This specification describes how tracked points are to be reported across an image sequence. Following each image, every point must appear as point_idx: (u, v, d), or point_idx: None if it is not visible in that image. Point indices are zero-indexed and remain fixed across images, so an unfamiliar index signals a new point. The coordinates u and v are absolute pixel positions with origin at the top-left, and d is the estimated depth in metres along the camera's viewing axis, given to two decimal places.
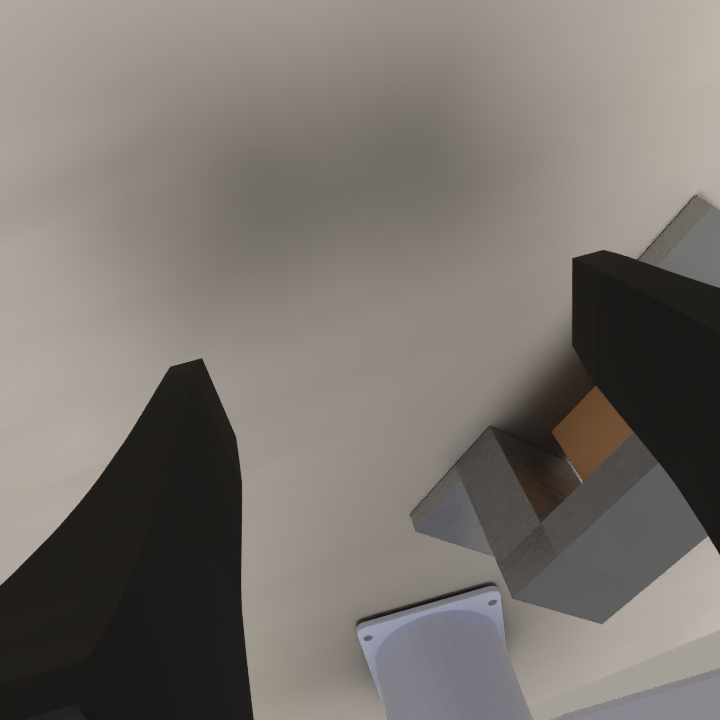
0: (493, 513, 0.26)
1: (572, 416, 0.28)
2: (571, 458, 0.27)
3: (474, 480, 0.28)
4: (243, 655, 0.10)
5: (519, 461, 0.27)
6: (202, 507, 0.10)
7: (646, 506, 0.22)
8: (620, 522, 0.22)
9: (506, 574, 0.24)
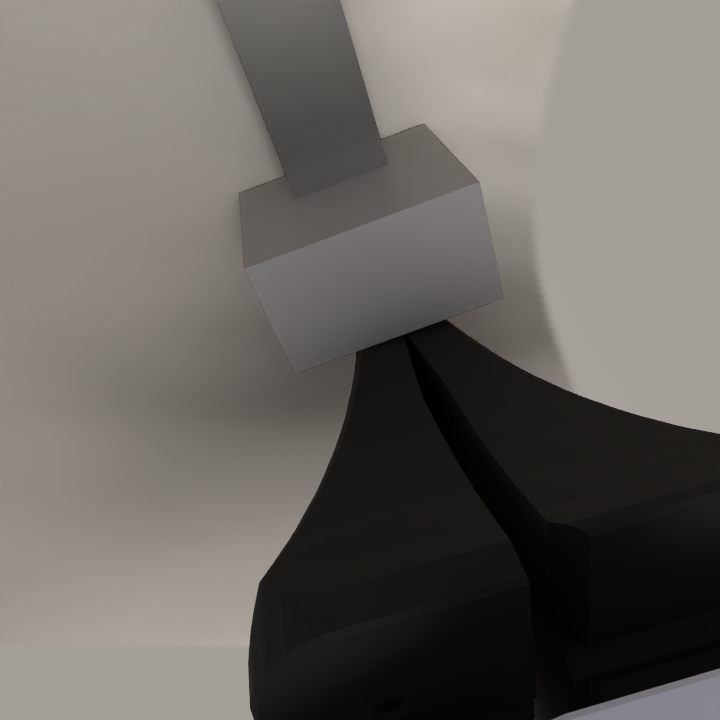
0: None
1: None
2: None
3: None
4: None
5: None
6: None
7: None
8: None
9: None
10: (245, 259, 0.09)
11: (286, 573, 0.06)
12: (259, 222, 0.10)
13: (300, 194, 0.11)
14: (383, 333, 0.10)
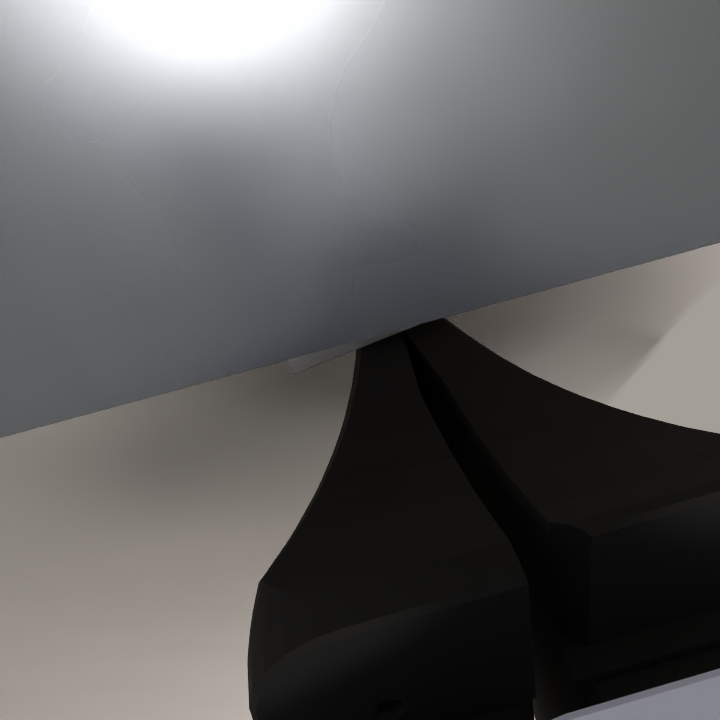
0: None
1: None
2: None
3: None
4: None
5: None
6: None
7: None
8: None
9: None
10: None
11: (285, 573, 0.06)
12: None
13: None
14: None
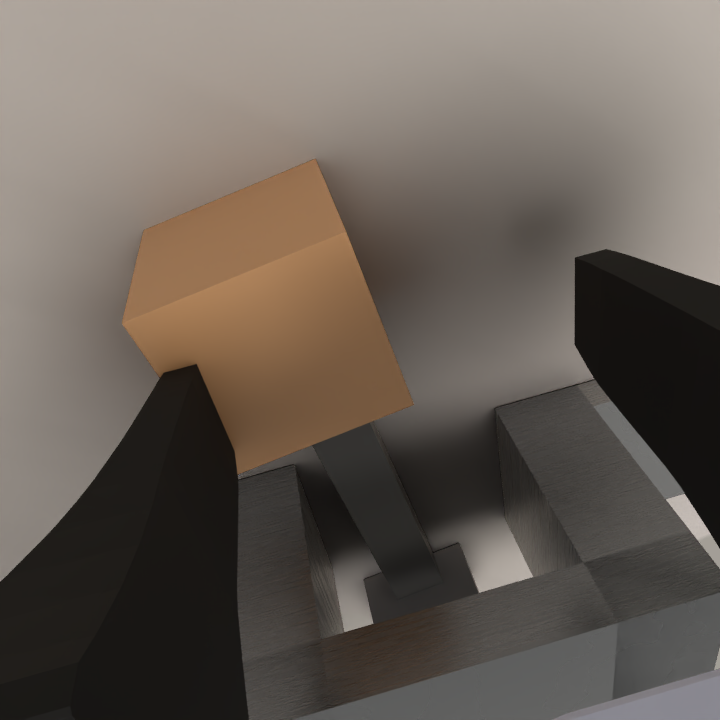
0: (241, 588, 0.15)
1: (196, 212, 0.14)
2: (140, 264, 0.12)
3: None
4: (239, 656, 0.10)
5: (309, 534, 0.17)
6: (198, 508, 0.10)
7: (489, 693, 0.14)
8: (443, 699, 0.13)
9: None
10: None
11: None
12: (382, 617, 0.21)
13: (399, 596, 0.21)
14: None
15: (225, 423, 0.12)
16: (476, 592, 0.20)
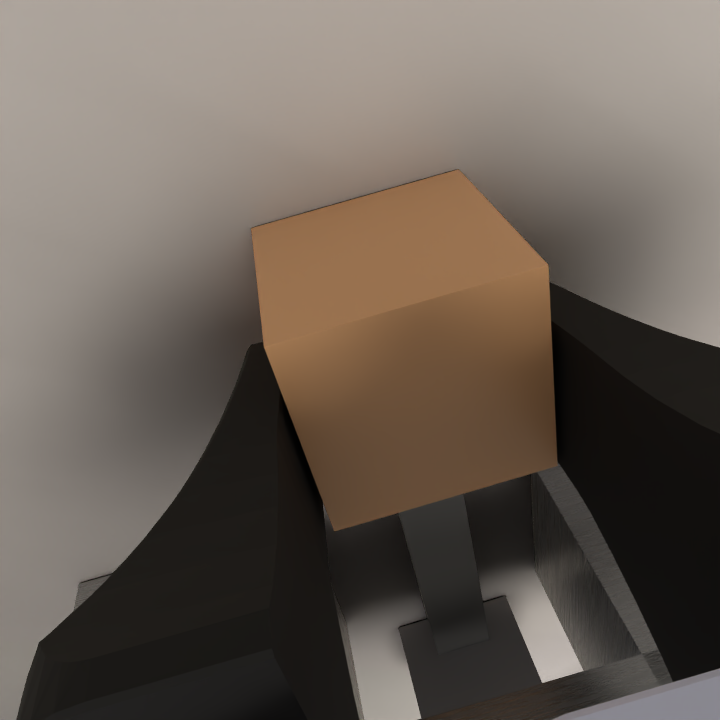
0: None
1: (317, 216, 0.12)
2: (262, 272, 0.10)
3: None
4: (338, 628, 0.10)
5: None
6: (299, 480, 0.10)
7: None
8: None
9: None
10: (421, 714, 0.18)
11: (62, 638, 0.06)
12: (421, 673, 0.19)
13: (440, 650, 0.19)
14: None
15: (347, 471, 0.10)
16: (527, 654, 0.19)
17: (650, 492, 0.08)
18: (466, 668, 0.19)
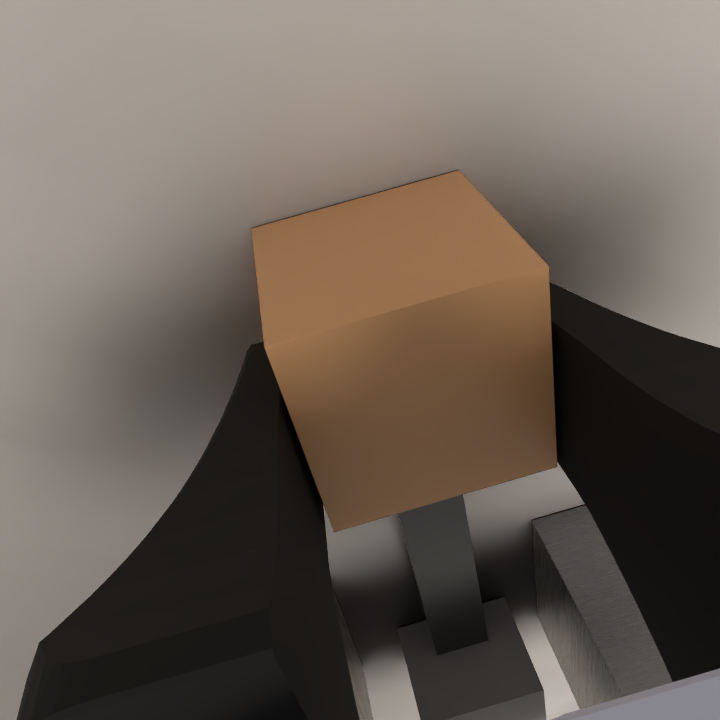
0: None
1: (318, 216, 0.12)
2: (262, 272, 0.10)
3: None
4: (338, 628, 0.10)
5: (346, 655, 0.17)
6: (299, 480, 0.10)
7: None
8: None
9: None
10: (420, 715, 0.18)
11: (62, 636, 0.06)
12: (420, 674, 0.19)
13: (439, 650, 0.19)
14: None
15: (347, 471, 0.10)
16: (526, 655, 0.19)
17: (650, 492, 0.08)
18: (465, 669, 0.19)
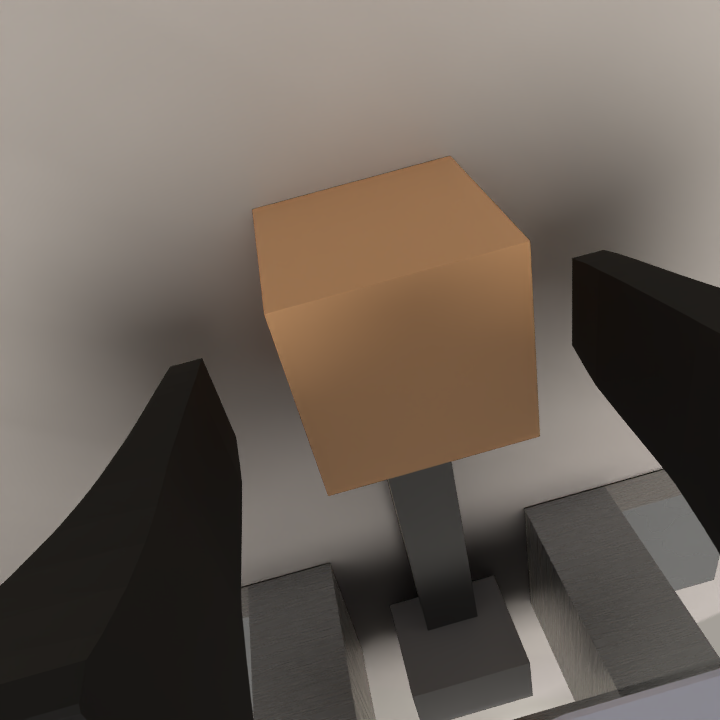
0: (284, 701, 0.16)
1: (315, 198, 0.12)
2: (263, 248, 0.11)
3: (271, 628, 0.18)
4: (243, 655, 0.10)
5: (346, 636, 0.18)
6: (202, 507, 0.10)
7: None
8: None
9: None
10: (411, 686, 0.19)
11: None
12: (411, 648, 0.19)
13: (429, 626, 0.20)
14: (470, 710, 0.20)
15: (341, 436, 0.11)
16: (514, 630, 0.19)
17: None
18: (454, 643, 0.19)
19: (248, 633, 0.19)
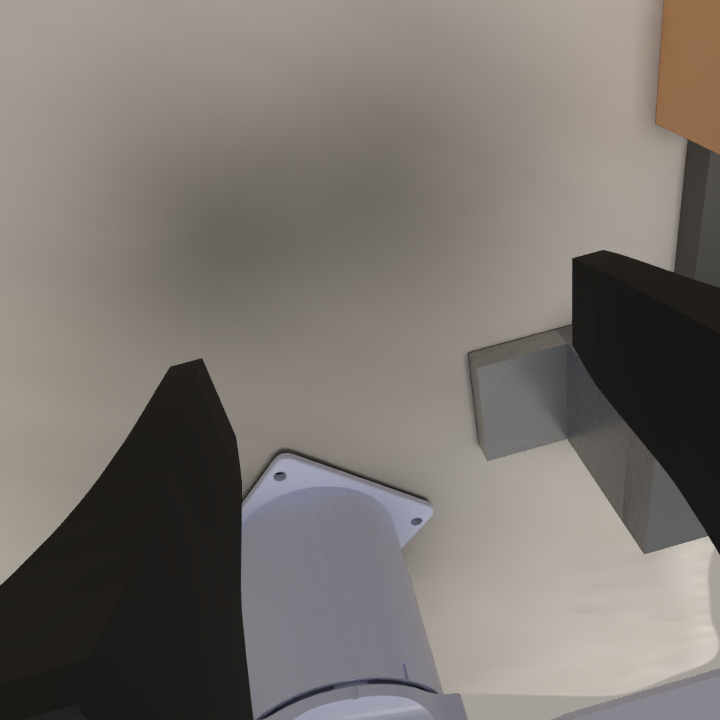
0: None
1: None
2: None
3: None
4: (243, 655, 0.10)
5: None
6: (202, 507, 0.10)
7: None
8: None
9: None
10: None
11: None
12: None
13: None
14: None
15: None
16: None
17: None
18: None
19: (560, 361, 0.24)
